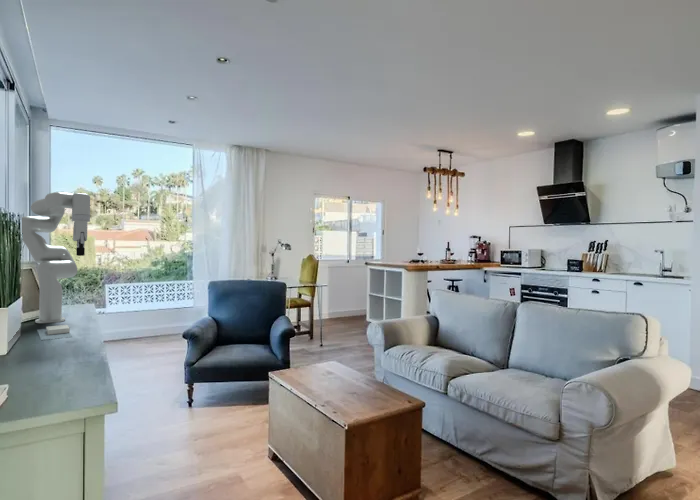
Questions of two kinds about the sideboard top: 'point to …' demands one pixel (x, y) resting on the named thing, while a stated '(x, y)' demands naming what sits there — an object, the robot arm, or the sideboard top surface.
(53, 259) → the robot arm
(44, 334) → the mat
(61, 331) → the picture frame
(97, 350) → the sideboard top surface
